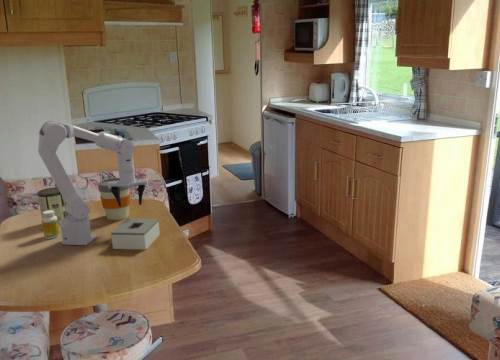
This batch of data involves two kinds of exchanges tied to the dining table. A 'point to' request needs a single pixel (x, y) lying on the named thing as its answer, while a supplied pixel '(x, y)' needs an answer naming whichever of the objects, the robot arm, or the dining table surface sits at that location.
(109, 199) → the reusable coffee cup
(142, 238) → the box
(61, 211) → the coffee can
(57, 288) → the dining table surface
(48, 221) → the supplement bottle
